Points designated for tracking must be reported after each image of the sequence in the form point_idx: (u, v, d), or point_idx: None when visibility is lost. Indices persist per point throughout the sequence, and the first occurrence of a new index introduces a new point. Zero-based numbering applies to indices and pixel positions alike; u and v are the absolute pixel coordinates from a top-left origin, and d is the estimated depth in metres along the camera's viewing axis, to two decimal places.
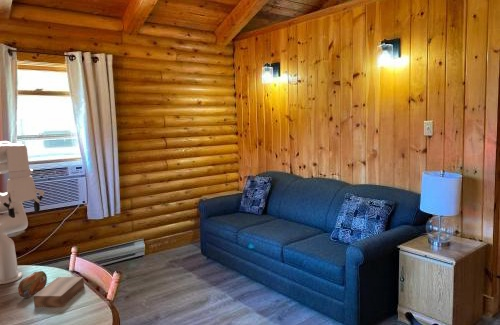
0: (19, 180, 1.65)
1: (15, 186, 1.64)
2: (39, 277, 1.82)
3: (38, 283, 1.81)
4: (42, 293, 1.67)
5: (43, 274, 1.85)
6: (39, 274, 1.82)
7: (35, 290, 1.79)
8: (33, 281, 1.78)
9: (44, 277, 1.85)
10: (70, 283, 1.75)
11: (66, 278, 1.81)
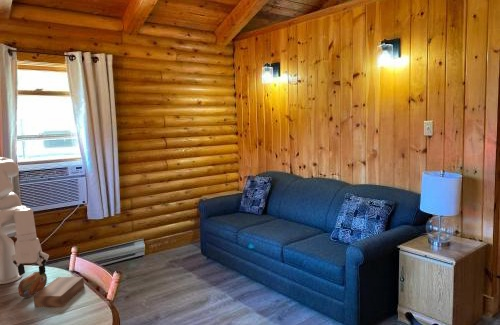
0: None
1: None
2: (39, 277, 1.82)
3: (38, 283, 1.81)
4: (42, 293, 1.67)
5: (43, 274, 1.85)
6: (39, 274, 1.82)
7: (35, 290, 1.79)
8: (33, 281, 1.78)
9: (44, 277, 1.85)
10: (70, 283, 1.75)
11: (66, 278, 1.81)
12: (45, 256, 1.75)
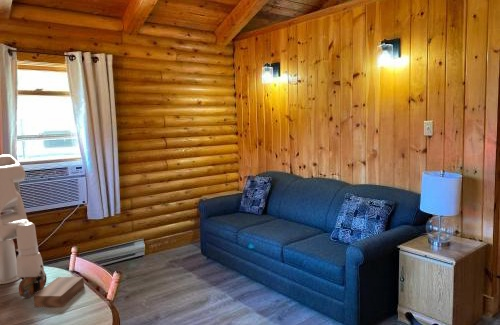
0: None
1: None
2: None
3: None
4: (42, 293, 1.67)
5: None
6: None
7: None
8: (33, 281, 1.78)
9: (44, 277, 1.85)
10: (70, 283, 1.75)
11: (66, 278, 1.81)
12: (42, 275, 1.77)
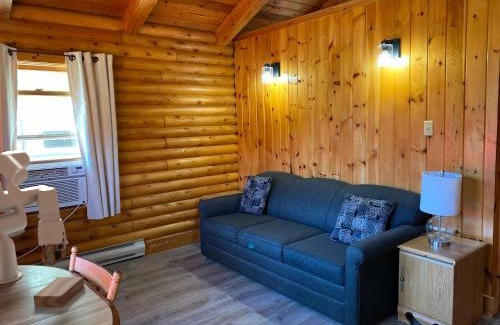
0: None
1: None
2: None
3: None
4: (42, 293, 1.67)
5: None
6: None
7: None
8: (55, 249, 1.71)
9: (64, 246, 1.77)
10: (70, 283, 1.75)
11: (66, 278, 1.81)
12: (64, 243, 1.70)
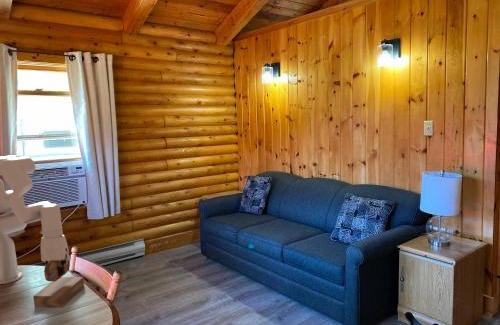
0: None
1: None
2: None
3: None
4: (42, 293, 1.67)
5: None
6: None
7: None
8: (58, 265, 1.72)
9: (67, 261, 1.78)
10: (70, 283, 1.75)
11: (66, 278, 1.81)
12: (67, 258, 1.70)
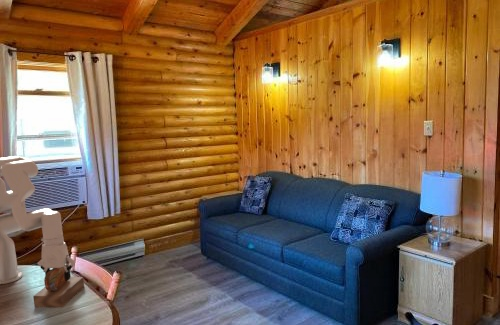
0: None
1: None
2: (62, 270, 1.76)
3: (62, 275, 1.75)
4: (42, 293, 1.67)
5: (66, 267, 1.79)
6: None
7: (60, 283, 1.73)
8: (58, 274, 1.72)
9: None
10: (70, 283, 1.75)
11: None
12: (72, 262, 1.71)
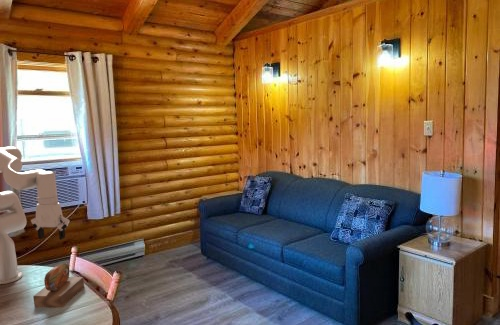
0: None
1: None
2: (62, 270, 1.76)
3: (62, 275, 1.75)
4: (42, 293, 1.67)
5: (66, 267, 1.79)
6: (62, 267, 1.76)
7: (60, 283, 1.73)
8: (58, 274, 1.72)
9: (67, 270, 1.79)
10: (70, 283, 1.75)
11: None
12: (66, 221, 1.73)
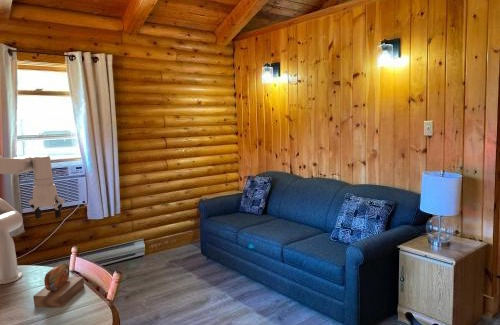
0: None
1: None
2: (62, 270, 1.76)
3: (61, 275, 1.75)
4: (42, 293, 1.67)
5: (66, 267, 1.79)
6: (62, 267, 1.76)
7: (60, 283, 1.73)
8: (58, 274, 1.72)
9: (67, 270, 1.79)
10: (70, 283, 1.75)
11: None
12: (61, 201, 1.86)
